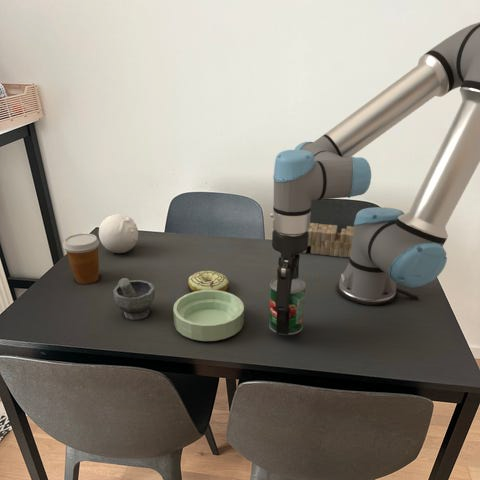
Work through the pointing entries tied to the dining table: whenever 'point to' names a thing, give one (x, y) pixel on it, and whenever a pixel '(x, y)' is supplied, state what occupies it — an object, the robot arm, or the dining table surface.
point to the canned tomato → (295, 306)
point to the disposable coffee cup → (83, 256)
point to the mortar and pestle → (134, 297)
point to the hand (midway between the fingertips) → (285, 322)
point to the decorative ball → (118, 233)
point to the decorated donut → (208, 281)
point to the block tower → (330, 240)
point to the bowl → (208, 315)
